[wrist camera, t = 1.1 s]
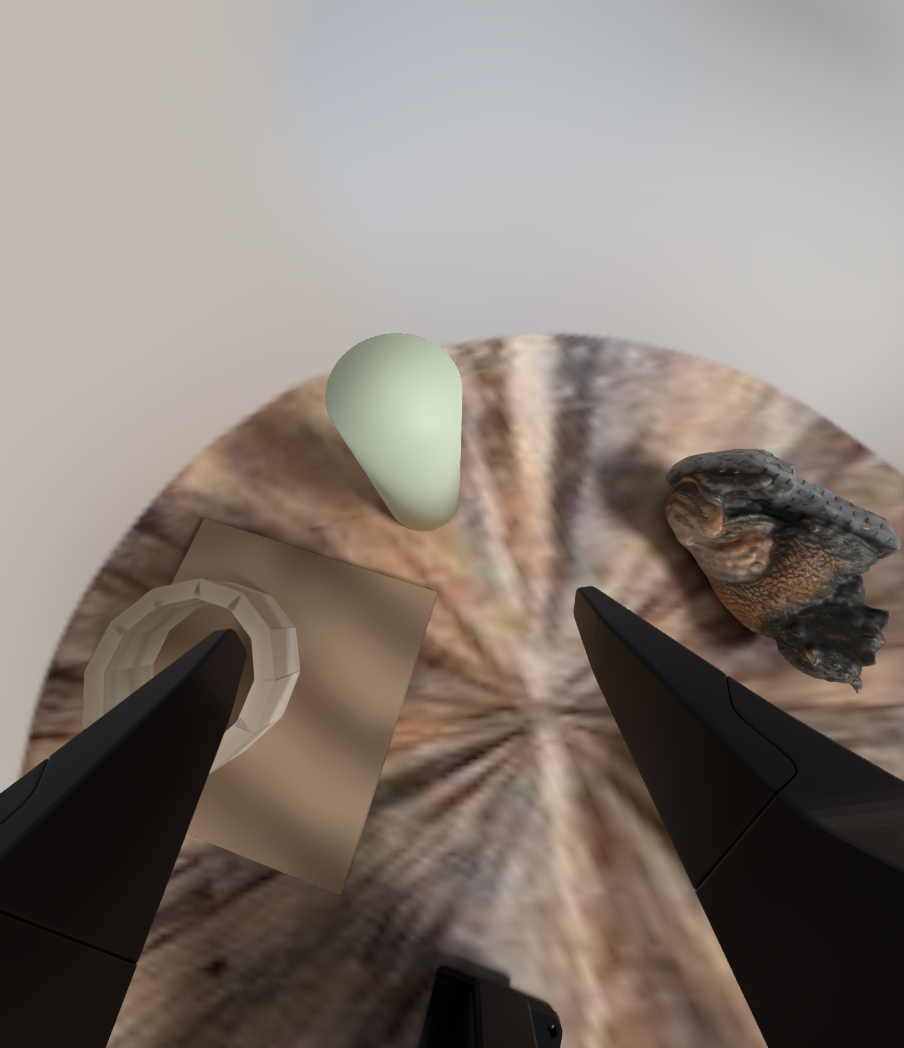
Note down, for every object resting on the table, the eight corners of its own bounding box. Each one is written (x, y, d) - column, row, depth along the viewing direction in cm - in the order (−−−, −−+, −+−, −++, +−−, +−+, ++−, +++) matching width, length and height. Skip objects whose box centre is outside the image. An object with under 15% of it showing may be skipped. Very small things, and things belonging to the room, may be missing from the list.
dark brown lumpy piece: (656, 464, 25) (606, 590, 23) (733, 405, 18) (675, 574, 16) (823, 541, 24) (791, 684, 21) (973, 507, 17) (954, 711, 14)
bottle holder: (347, 878, 19) (318, 950, 15) (92, 776, 20) (1, 817, 16) (437, 592, 23) (434, 588, 19) (216, 522, 24) (168, 504, 20)
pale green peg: (446, 540, 24) (438, 469, 12) (377, 519, 24) (303, 431, 12) (468, 474, 25) (478, 351, 13) (401, 455, 25) (355, 320, 14)
